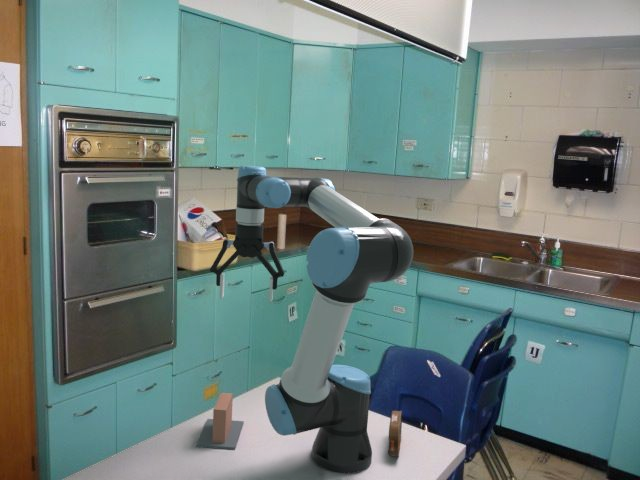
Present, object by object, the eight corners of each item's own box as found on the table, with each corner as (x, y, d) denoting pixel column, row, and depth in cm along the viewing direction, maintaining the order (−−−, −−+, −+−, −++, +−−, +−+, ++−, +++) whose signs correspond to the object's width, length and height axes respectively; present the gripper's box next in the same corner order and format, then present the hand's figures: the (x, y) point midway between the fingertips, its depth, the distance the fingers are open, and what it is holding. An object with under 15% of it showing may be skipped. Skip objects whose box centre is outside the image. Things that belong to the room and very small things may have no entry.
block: (232, 393, 155) (226, 410, 145) (231, 424, 156) (224, 443, 146) (221, 392, 155) (213, 409, 145) (219, 423, 156) (212, 442, 146)
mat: (243, 423, 159) (243, 421, 159) (235, 449, 145) (235, 447, 145) (207, 420, 159) (207, 418, 159) (195, 446, 145) (195, 444, 145)
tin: (397, 463, 144) (400, 431, 142) (385, 461, 144) (388, 429, 143) (401, 434, 158) (404, 406, 157) (390, 432, 159) (392, 404, 158)
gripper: (296, 224, 159) (291, 298, 163) (206, 218, 159) (203, 292, 162) (295, 228, 152) (290, 305, 155) (200, 222, 151) (198, 299, 155)
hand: (246, 299), depth 159 cm, fingers open, 13 cm apart
